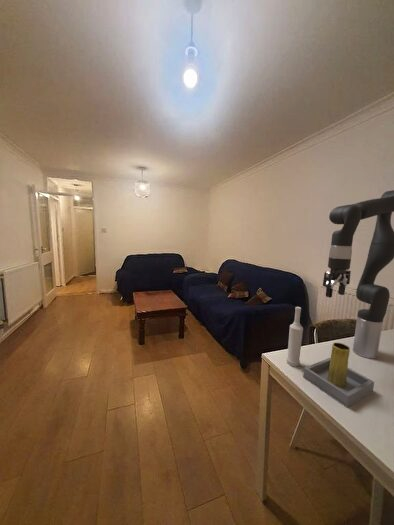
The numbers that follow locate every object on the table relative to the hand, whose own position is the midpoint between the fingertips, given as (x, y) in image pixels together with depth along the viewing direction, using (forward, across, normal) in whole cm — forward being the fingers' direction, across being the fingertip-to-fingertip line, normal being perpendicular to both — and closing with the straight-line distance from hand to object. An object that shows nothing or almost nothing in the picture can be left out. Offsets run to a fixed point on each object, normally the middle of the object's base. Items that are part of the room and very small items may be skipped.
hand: (335, 295), depth 89 cm
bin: (+30, +10, +10) cm, 33 cm away
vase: (+29, +10, +10) cm, 33 cm away
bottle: (+30, +14, -6) cm, 34 cm away
